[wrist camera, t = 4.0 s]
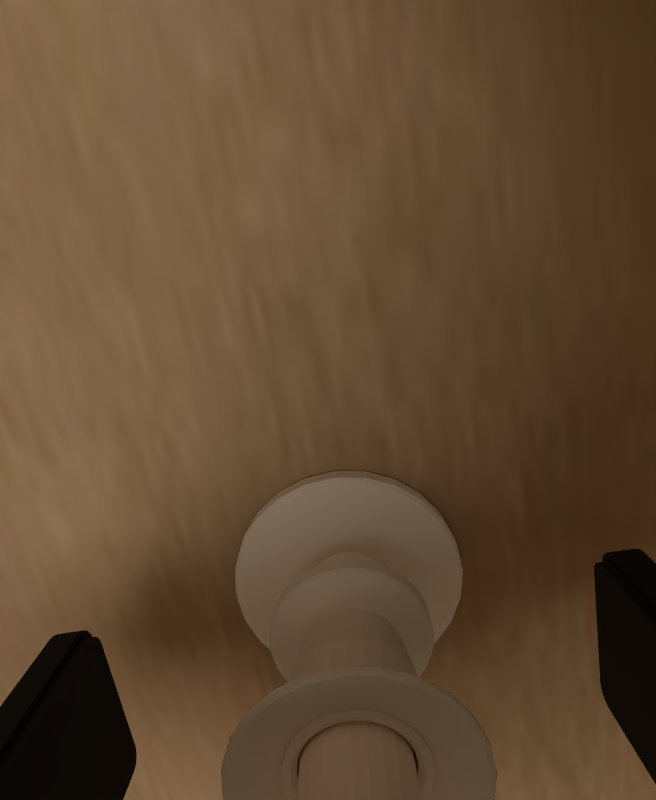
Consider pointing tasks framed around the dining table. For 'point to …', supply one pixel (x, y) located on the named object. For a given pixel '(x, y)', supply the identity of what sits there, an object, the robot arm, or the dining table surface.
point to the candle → (353, 649)
